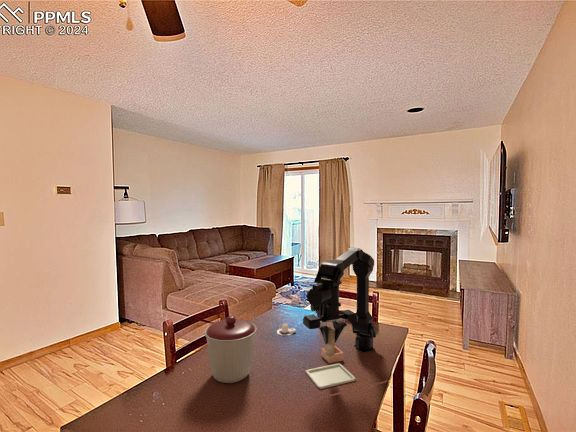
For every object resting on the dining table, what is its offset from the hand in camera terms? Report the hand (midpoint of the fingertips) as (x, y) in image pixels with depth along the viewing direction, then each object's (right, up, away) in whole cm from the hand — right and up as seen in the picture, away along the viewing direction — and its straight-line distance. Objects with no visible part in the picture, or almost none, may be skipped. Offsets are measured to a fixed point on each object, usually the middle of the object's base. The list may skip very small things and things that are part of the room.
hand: (330, 343), depth 109 cm
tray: (0, -12, 0) cm, 12 cm away
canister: (-35, -12, +2) cm, 37 cm away
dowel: (0, -4, 0) cm, 4 cm away
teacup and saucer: (-15, -11, +36) cm, 41 cm away
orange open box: (+3, -12, +13) cm, 18 cm away
